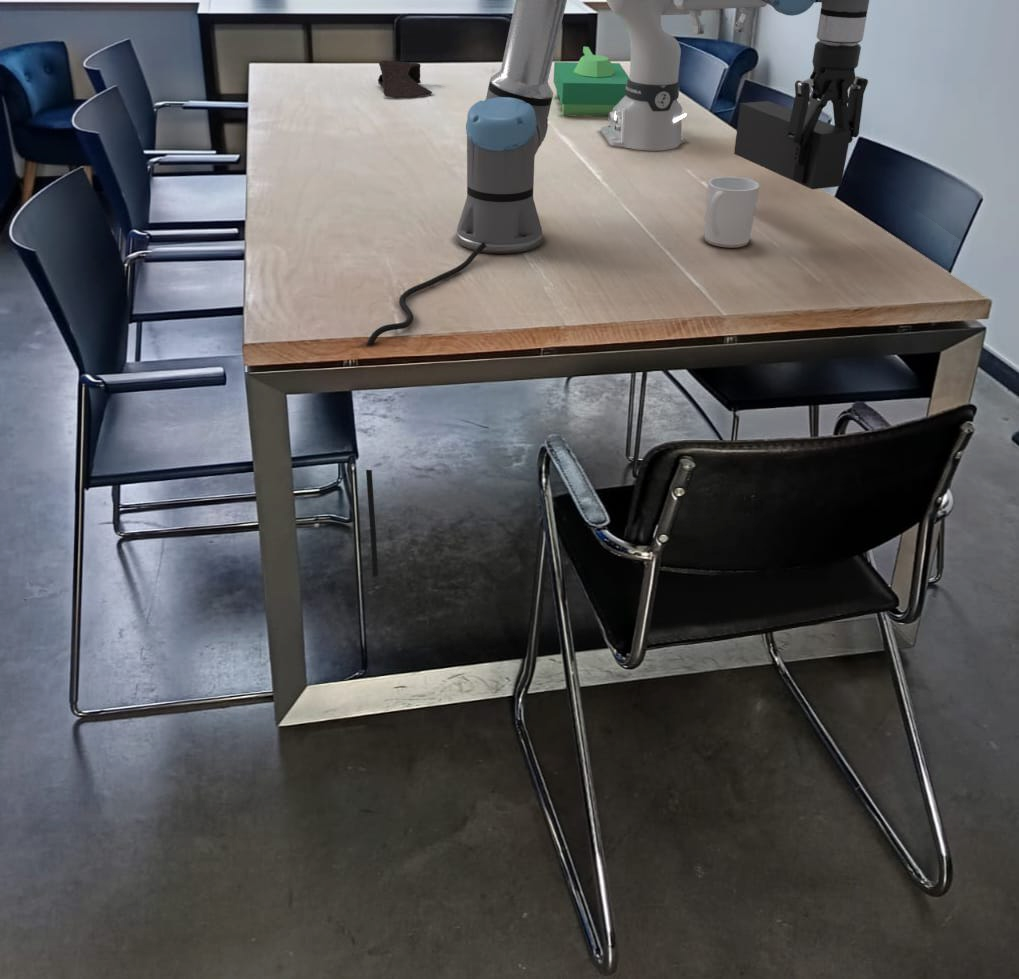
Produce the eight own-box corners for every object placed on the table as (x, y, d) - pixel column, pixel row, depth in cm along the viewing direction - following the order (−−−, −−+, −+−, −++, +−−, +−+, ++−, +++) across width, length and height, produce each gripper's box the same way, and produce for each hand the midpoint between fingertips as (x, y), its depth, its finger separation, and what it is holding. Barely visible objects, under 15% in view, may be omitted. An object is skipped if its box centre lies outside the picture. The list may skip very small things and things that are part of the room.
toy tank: (616, 43, 300) (635, 68, 271) (613, 90, 307) (630, 119, 277) (552, 42, 300) (564, 66, 270) (550, 88, 306) (561, 118, 276)
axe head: (443, 87, 294) (392, 77, 287) (436, 115, 299) (385, 106, 292) (421, 62, 307) (371, 52, 300) (414, 89, 311) (365, 80, 304)
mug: (717, 229, 203) (724, 173, 198) (760, 239, 198) (768, 183, 193) (686, 243, 196) (692, 186, 190) (730, 255, 191) (737, 196, 186)
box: (841, 186, 194) (851, 131, 189) (812, 189, 192) (821, 134, 187) (760, 151, 214) (768, 100, 209) (733, 153, 211) (740, 103, 206)
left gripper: (870, 35, 190) (846, 169, 202) (777, 40, 183) (758, 178, 195) (899, 43, 184) (872, 180, 196) (804, 48, 177) (782, 190, 189)
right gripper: (763, -47, 217) (753, 28, 224) (673, -45, 210) (666, 32, 217) (781, -44, 212) (771, 33, 219) (690, -41, 205) (682, 37, 212)
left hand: (815, 179), depth 195 cm, fingers closed on box, 6 cm apart
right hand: (718, 32), depth 218 cm, fingers open, 8 cm apart
